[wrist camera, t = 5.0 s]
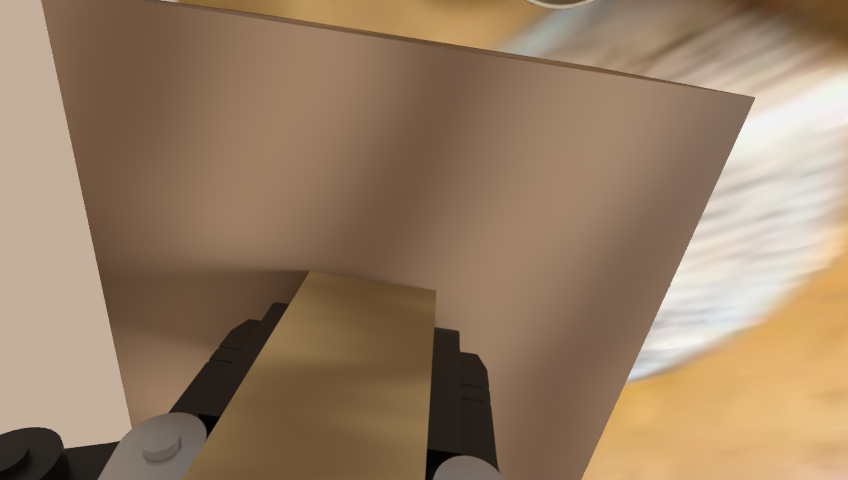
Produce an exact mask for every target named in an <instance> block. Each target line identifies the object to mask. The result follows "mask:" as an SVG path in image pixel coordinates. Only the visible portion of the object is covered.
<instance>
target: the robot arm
mask: <svg viewBox="0 0 848 480" xmlns="http://www.w3.org/2000/svg"><path fill="white" fill-rule="evenodd" d="M289 305H290V304H285V303H278V302H275V303H273V304H272V305H271V307H270V308H269V310H268V311H267V313H266V314H265V316H264V317H263V319H262V320H261V321H259V320H253V319H248V320H246V321H245V322H243V323H242V324H240V325H239V326H237V327H235V328H234V329H232V330H231V331H230V332H229V333H228V335H227V336H226V337H225V339H224V340H223V341H222V343H221V344H220V345H219V348H218V349H216V351H215V352H214V353H213V354H212V356H211V357H210V358H209V362H206V364H205V365H204V366H203V368H202V369H201V370H200V372H199V373H198V374H197V375H196V377H195V378H194V379H193V381H192V382H191V383H190V385H189V386H188V387H187V389H186V390H185V391H184V393H183V394H182V395H181V397H180V398H179V399H178V400H177V402H176V403H175V404H174V406H173V407H172V408H171V410H170V411H169V412H168V413H167V414H162V415H158V416H155V417H152V418H150V419H148V420H146V421H144V422H142V423H140V424H139V425H137V426H136V427H134V428H133V429H132V430H131V431H129V432H128V433H127V434H126V435H125V436H124V437H123V438H122V440H121V441H118V442H112V443H107V444H98V445H90V446H83V447H75V448H68V449H64V446H63V443H62V440H61V438H60V436H59V435H58V434H57V433H56V432H54V431H53V430H50V429H46V428H40V427H34V428H33V427H30V428H24V429H18V430H14V431H10V432H7V433H4V434H1V435H0V480H182V479H183V478H184V476H185V474H186V473H187V471H188V469H189V468H190V466H191V465H192V463H193V461H194V460H195V458H196V456H197V455H198V453H199V451H200V450H201V448H202V447H203V445H204V443H205V442H206V440H207V438H208V437H209V435H210V434H211V432H212V430H213V429H214V427H215V425H216V424H217V422H218V420H219V419H220V417H221V416H222V414H223V412H224V411H225V409H226V407H227V406H228V404H229V403H230V401H231V399H232V398H233V396H234V394H235V393H236V391H237V389H238V388H239V386H240V385H241V383H242V381H243V380H244V378H245V376H246V375H247V373H248V372H249V370H250V368H251V367H252V365H253V363H254V362H255V360H256V358H257V357H258V355H259V354H260V352H261V350H262V349H263V347H264V345H265V344H266V342H267V341H268V339H269V337H270V336H271V334H272V332H273V331H274V329H275V327H276V326H277V324H278V323H279V321H280V319H281V318H282V316H283V314H284V313H285V311H286V310H287V308H288V306H289ZM490 404H491V399H490V391H489V380H488V371H487V369H486V367H485V365H484V364H483V362H482V361H481V359H480V357H479V356H478V354H473V353H467V352H460V334H459V330H452V329H446V328H439V327H434V339H433V356H432V372H431V389H430V405H429V422H428V438H427V454H426V471H425V480H504V478H503V477H502V476H501V474H500V471H499V468H498V463H497V455H496V445H495V436H494V427H493V417H492V408H491V405H490Z"/></svg>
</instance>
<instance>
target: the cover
mask: <svg viewBox="0 0 848 480" xmlns="http://www.w3.org/2000/svg"><path fill="white" fill-rule="evenodd" d="M41 1H42V6H43V11H44V15H45V20H46V24H47V30H48V34H49V39H50V44H51V48H52V53H53V58H54V63H55V67H56V72H57V77H58V81H59V86H60V90H61V95H62V100H63V105H64V110H65V114H66V119H67V124H68V129H69V133H70V138H71V143H72V147H73V152H74V157H75V162H76V166H77V171H78V176H79V180H80V185H81V190H82V195H83V199H84V204H85V209H86V213H87V218H88V223H89V228H90V232H91V237H92V242H93V246H94V251H95V255H96V261H97V265H98V270H99V275H100V279H101V284H102V289H103V294H104V298H105V303H106V308H107V312H108V317H109V322H110V326H111V331H112V336H113V341H114V345H115V350H116V354H117V360H118V364H119V369H120V374H121V379H122V383H123V388H124V392H125V397H126V402H127V407H128V411H129V416H130V421H131V426H132V429H133V428H134V427H136V426H137V425H139V424H140V423H142V422H144V421H146V420H148V419H150V418H152V417H155V416H158V415H162V414H167V413H168V412H169V411H170V410H171V408H172V407H173V406H174V404H175V403H176V402H177V400H178V399H179V398H180V397H181V395H182V394H183V393H184V391H185V390H186V389H187V387H188V386H189V385H190V383H191V382H192V381H193V379H194V378H195V377H196V375H197V374H198V373H199V372H200V370H201V369H202V368H203V366H204V365H205V364H206V362H209V358H210V357H211V356H212V354H213V353H214V352H215V351H216V349H218V348H219V345H220V344H221V343H222V341H223V340H224V339H225V337H226V336H227V335H228V333H229V332H230V331H231V330H232V329H234V328H235V327H237V326H239V325H240V324H242V323H243V322H245V321H246V320H248V319H253V320H259V321H261V320H262V319H263V317H264V316H265V314H266V313H267V311H268V310H269V308H270V307H271V305H272V304H273V303H275V302H278V303H285V304H290V305H289V306H288V308H287V310H286V311H285V313H284V314H283V316H282V318H281V319H280V321H279V323H278V324H277V326H276V327H275V329H274V331H273V332H272V334H271V336H270V337H269V339H268V341H267V342H266V344H265V345H264V347H263V349H262V350H261V352H260V354H259V355H258V357H257V358H256V360H255V362H254V363H253V365H252V367H251V368H250V370H249V372H248V373H247V375H246V376H245V378H244V380H243V381H242V383H241V385H240V386H239V388H238V389H237V391H236V393H235V394H234V396H233V398H232V399H231V401H230V403H229V404H228V406H227V407H226V409H225V411H224V412H223V414H222V416H221V417H220V419H219V420H218V422H217V424H216V425H215V427H214V429H213V430H212V432H211V434H210V435H209V437H208V438H207V440H206V442H205V443H204V445H203V447H202V448H201V450H200V451H199V453H198V455H197V456H196V458H195V460H194V461H193V463H192V465H191V466H190V468H189V469H188V471H187V473H186V474H185V476H184V478H183V479H182V480H425V471H426V454H427V438H428V422H429V405H430V389H431V372H432V356H433V339H434V327H439V328H446V329H452V330H459V334H460V352H467V353H473V354H478V356H479V357H480V359H481V361H482V362H483V364H484V365H485V367H486V369H487V371H488V380H489V391H490V399H491V404H490V405H491V408H492V417H493V427H494V436H495V445H496V455H497V463H498V468H499V471H500V474H501V476H502V477H503V478H504V480H581V479H582V477H583V475H584V472H585V470H586V468H587V466H588V464H589V461H590V459H591V457H592V455H593V453H594V450H595V448H596V446H597V444H598V442H599V439H600V437H601V435H602V433H603V431H604V429H605V426H606V424H607V422H608V420H609V418H610V415H611V413H612V411H613V409H614V407H615V404H616V402H617V400H618V398H619V396H620V393H621V391H622V389H623V387H624V385H625V382H626V380H627V378H628V376H629V374H630V372H631V369H632V367H633V365H634V363H635V361H636V358H637V356H638V354H639V352H640V350H641V347H642V345H643V343H644V341H645V339H646V336H647V334H648V332H649V330H650V328H651V326H652V323H653V321H654V319H655V317H656V315H657V312H658V310H659V308H660V306H661V304H662V301H663V299H664V297H665V295H666V293H667V290H668V288H669V286H670V284H671V282H672V279H673V277H674V275H675V273H676V271H677V269H678V266H679V264H680V262H681V260H682V258H683V255H684V253H685V251H686V249H687V247H688V244H689V242H690V240H691V238H692V236H693V233H694V231H695V229H696V227H697V225H698V222H699V220H700V218H701V216H702V214H703V212H704V209H705V207H706V205H707V203H708V201H709V198H710V196H711V194H712V192H713V190H714V187H715V185H716V183H717V181H718V179H719V176H720V174H721V172H722V170H723V168H724V165H725V163H726V161H727V159H728V157H729V155H730V152H731V150H732V148H733V146H734V144H735V141H736V139H737V137H738V135H739V133H740V130H741V128H742V126H743V124H744V122H745V119H746V117H747V115H748V113H749V111H750V108H751V106H752V104H753V102H754V100H755V97H750V96H745V95H739V94H734V93H729V92H724V91H718V90H713V89H708V88H702V87H697V86H692V85H687V84H681V83H676V82H671V81H665V80H660V79H655V78H650V77H644V76H639V75H634V74H629V73H623V72H618V71H613V70H607V69H602V68H597V67H592V66H586V65H579V64H573V63H567V62H560V61H554V60H548V59H541V58H535V57H529V56H522V55H516V54H510V53H504V52H497V51H491V50H485V49H478V48H472V47H466V46H459V45H453V44H447V43H440V42H434V41H428V40H422V39H415V38H409V37H403V36H396V35H390V34H384V33H377V32H371V31H365V30H358V29H352V28H346V27H340V26H333V25H327V24H321V23H314V22H308V21H302V20H295V19H289V18H283V17H276V16H270V15H264V14H256V13H249V12H242V11H234V10H227V9H219V8H212V7H205V6H197V5H190V4H183V3H175V2H168V1H161V0H41Z"/></svg>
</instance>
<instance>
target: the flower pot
mask: <svg viewBox="0 0 848 480" xmlns="http://www.w3.org/2000/svg"><path fill="white" fill-rule="evenodd" d="M525 1H527V2H529V3H531V4H534V5H537V6H540V7H544V8H550V9H569V8H574V7H579V6H582V5H585V4H588V3H590V2H593V1H594V0H525Z"/></svg>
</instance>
